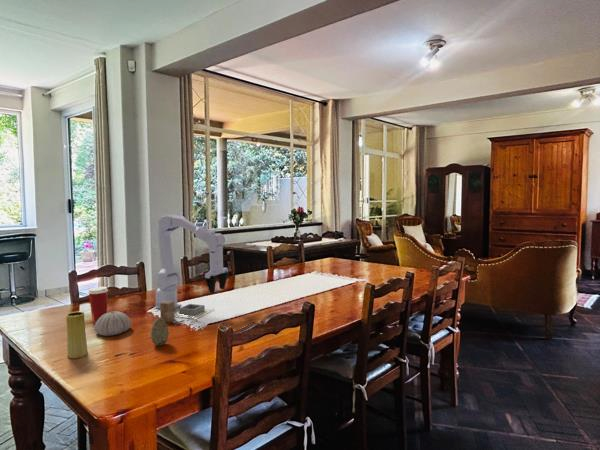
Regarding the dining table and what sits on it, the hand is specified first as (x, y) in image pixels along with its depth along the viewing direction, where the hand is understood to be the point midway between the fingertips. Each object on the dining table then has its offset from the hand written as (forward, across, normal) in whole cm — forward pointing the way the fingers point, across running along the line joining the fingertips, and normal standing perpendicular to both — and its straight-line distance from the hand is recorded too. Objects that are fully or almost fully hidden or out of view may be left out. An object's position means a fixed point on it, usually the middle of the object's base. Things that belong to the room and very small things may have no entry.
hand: (217, 290), depth 183 cm
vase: (+10, -57, +17) cm, 61 cm away
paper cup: (+10, -28, +41) cm, 51 cm away
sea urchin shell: (+10, -36, +24) cm, 44 cm away
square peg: (+10, -17, +14) cm, 24 cm away
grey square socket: (+11, -5, +10) cm, 16 cm away
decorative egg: (+10, -40, -3) cm, 41 cm away
